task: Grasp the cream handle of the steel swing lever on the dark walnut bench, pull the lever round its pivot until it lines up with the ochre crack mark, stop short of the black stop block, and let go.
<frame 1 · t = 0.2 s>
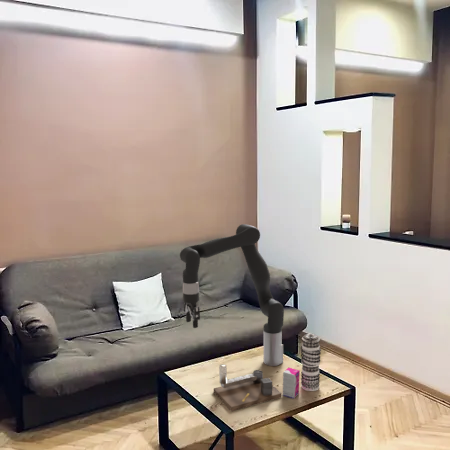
hand: (191, 324, 231), 29 cm above the table, fingers open, 8 cm apart
bench: (247, 394, 224), on the table
supplement box: (290, 395, 223), on the table
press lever: (241, 373, 227), point 8 cm above the table, hinge at 0.0°
decorative candle: (310, 387, 230), on the table
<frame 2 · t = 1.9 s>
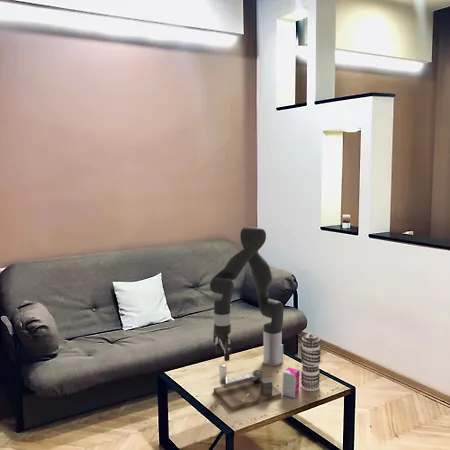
hand: (222, 356, 221), 18 cm above the table, fingers open, 8 cm apart
nothing on the table moved.
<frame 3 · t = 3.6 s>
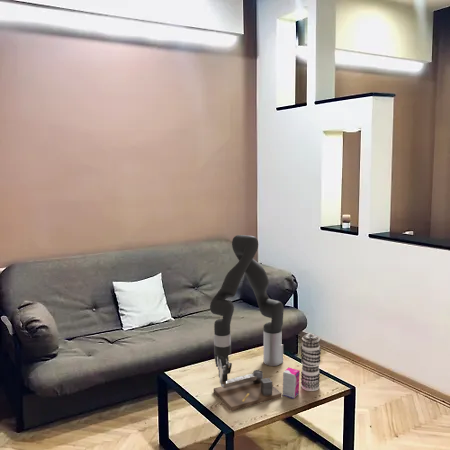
hand: (223, 379, 223), 8 cm above the table, fingers closed on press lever, 3 cm apart
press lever: (241, 373, 227), point 8 cm above the table, hinge at 0.1°, touching gripper
everything else where it was.
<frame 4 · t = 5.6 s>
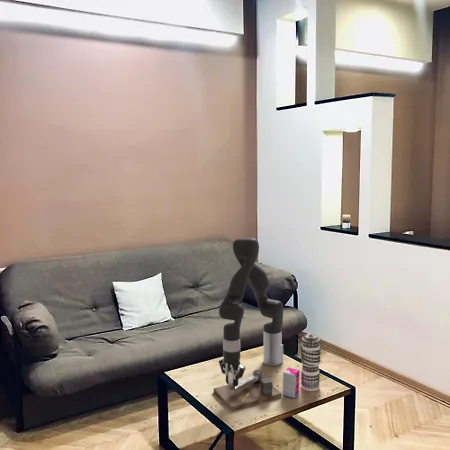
hand: (231, 384, 218), 8 cm above the table, fingers closed on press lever, 3 cm apart
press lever: (245, 375, 224), point 8 cm above the table, hinge at 21.0°, touching gripper
everything else where it was.
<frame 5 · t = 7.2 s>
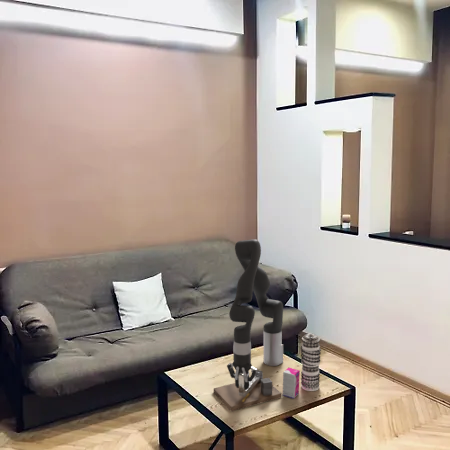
hand: (242, 387, 215), 8 cm above the table, fingers closed on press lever, 3 cm apart
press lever: (250, 377, 223), point 8 cm above the table, hinge at 37.9°, touching gripper
everything else where it was.
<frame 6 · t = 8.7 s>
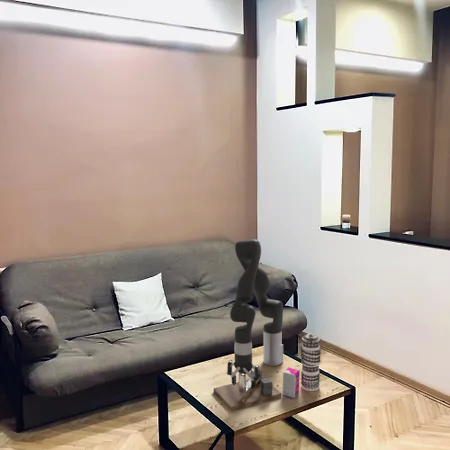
hand: (243, 386, 214), 9 cm above the table, fingers open, 8 cm apart
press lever: (250, 377, 223), point 8 cm above the table, hinge at 38.5°
everything else where it was.
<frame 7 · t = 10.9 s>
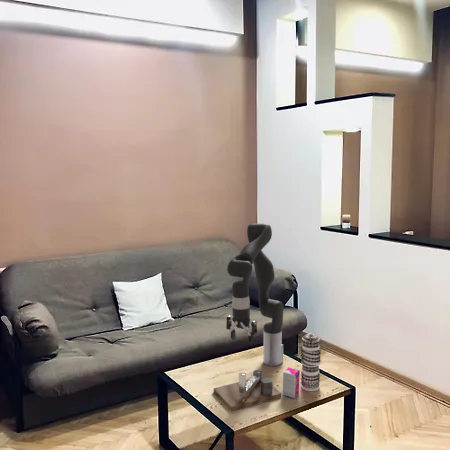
hand: (241, 340, 217), 27 cm above the table, fingers open, 8 cm apart
nothing on the table moved.
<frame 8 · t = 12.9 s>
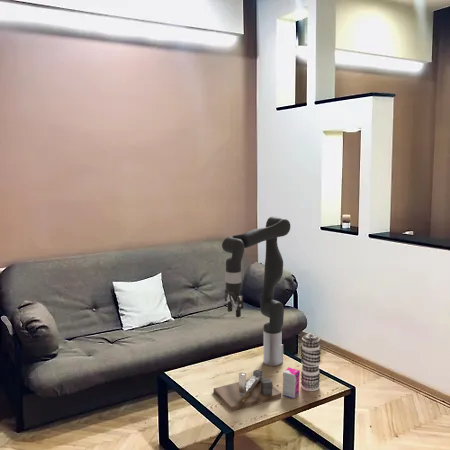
hand: (234, 314, 232), 33 cm above the table, fingers open, 8 cm apart
nothing on the table moved.
at the end: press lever at +38° (first picture: +0°); the gripper is holding nothing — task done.
